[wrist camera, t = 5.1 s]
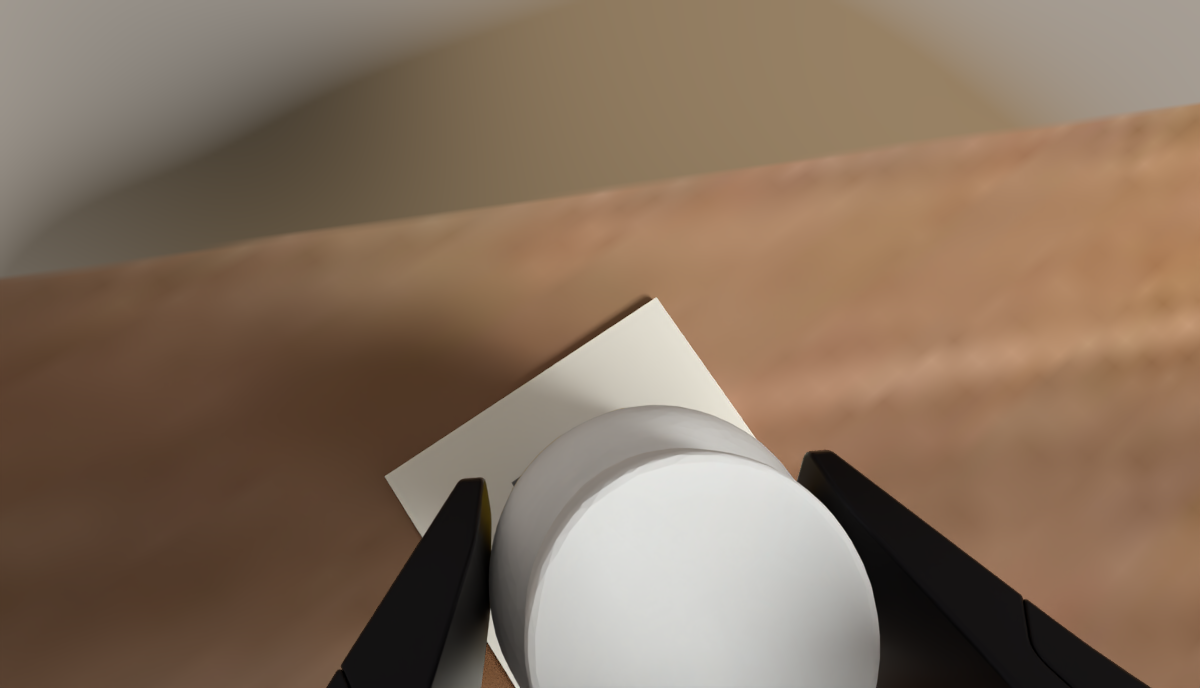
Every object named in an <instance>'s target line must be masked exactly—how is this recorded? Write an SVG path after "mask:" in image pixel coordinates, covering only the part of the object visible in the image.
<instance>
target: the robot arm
mask: <svg viewBox="0 0 1200 688" xmlns="http://www.w3.org/2000/svg"><path fill="white" fill-rule="evenodd" d="M797 482H798V483H799V484H801V485H802V486H803V487H804V488H806V489H807V490H808V491H810V492H811V493H812V494H813V495H814V496H815V497H816V498H817V499H818V500H819V501H821V502H822V503H823V504H824V505H825V506H826V508H827V509H828V510H829V511H830V512H831V513H832V514H833V516H834V517H835V518H836V519H837V521H838V522H839V523H840V525H841V526H842V528H843V529H844V530H845V532H846V534H847V535H848V537H849V538H850V540H851V541H852V543H853V545H854V547H855V549H856V551H857V553H858V555H859V556H860V558H861V560H862V562H863V565H864V567H865V570H866V573H867V575H868V578H869V581H870V583H871V586H872V591H873V596H874V600H875V605H876V610H877V615H878V624H879V633H880V662H879V670H878V679H877V685H876V688H1151V687H1149V686H1148V685H1146V684H1145V683H1143V682H1142V681H1140V680H1139V679H1137V678H1136V677H1134V676H1133V675H1131V674H1130V673H1128V672H1127V671H1125V670H1124V669H1123V668H1121V667H1120V666H1118V665H1117V664H1115V663H1114V662H1112V661H1111V660H1109V659H1108V658H1107V657H1105V656H1104V655H1102V654H1101V653H1099V652H1098V651H1096V650H1095V649H1093V648H1092V647H1091V646H1089V645H1088V644H1086V643H1085V642H1084V641H1082V640H1081V639H1080V638H1078V637H1077V636H1075V635H1074V634H1073V633H1071V632H1070V631H1069V630H1067V629H1066V628H1065V627H1063V626H1062V625H1061V624H1059V623H1058V622H1056V621H1055V620H1054V619H1052V618H1051V617H1050V616H1048V615H1047V614H1046V613H1044V612H1043V611H1042V610H1040V609H1039V608H1038V607H1037V606H1035V605H1034V604H1033V603H1031V602H1030V601H1029V600H1027V599H1024V600H1023V598H1022V596H1021V594H1019V593H1018V592H1017V591H1015V590H1014V589H1013V588H1011V587H1010V586H1009V585H1007V584H1006V583H1005V582H1003V581H1002V580H1001V579H1000V578H998V577H997V576H996V575H994V574H993V573H992V572H990V571H989V570H988V569H986V568H985V567H984V566H982V565H981V564H980V563H978V562H977V561H976V560H975V559H973V558H972V557H971V556H969V555H968V554H967V553H965V552H964V551H963V550H961V549H960V548H959V547H957V546H956V545H955V544H954V543H952V542H951V541H950V540H948V539H947V538H946V537H944V536H943V535H942V534H940V533H939V532H938V531H936V530H935V529H934V528H933V527H931V526H930V525H929V524H927V523H926V522H925V521H923V520H922V519H921V518H919V517H918V516H917V515H915V514H914V513H913V512H912V511H910V510H909V509H908V508H906V507H905V506H904V505H902V504H901V503H900V502H898V501H897V500H896V499H894V498H893V497H892V496H890V495H889V494H888V493H887V492H885V491H884V490H883V489H881V488H880V487H879V486H877V485H876V484H875V483H873V482H872V481H871V480H869V479H868V478H867V477H866V476H864V475H863V474H862V473H860V472H859V471H858V470H856V469H855V468H854V467H852V466H851V465H850V464H848V463H847V462H846V461H845V460H843V459H842V458H841V457H839V456H838V455H837V454H835V453H834V452H832V451H830V450H818V451H809V452H807V453H806V454H805V455H804V458H803V461H802V465H801V468H800V472H799V476H798V479H797ZM491 534H492V519H491V508H490V502H489V496H488V491H487V485H486V481H485V479H484V478H482V477H477V478H464V479H461V480H459V481H458V483H457V484H456V486H455V487H454V489H453V490H452V492H451V493H450V495H449V496H448V498H447V500H446V501H445V503H444V504H443V506H442V507H441V509H440V511H439V512H438V514H437V515H436V517H435V518H434V520H433V522H432V523H431V525H430V526H429V528H428V529H427V531H426V533H425V534H424V536H423V537H422V539H421V540H420V542H419V543H418V545H417V547H416V548H415V550H414V551H413V553H412V554H411V556H410V558H409V559H408V561H407V562H406V564H405V565H404V567H403V569H402V570H401V572H400V573H399V575H398V576H397V578H396V580H395V581H394V583H393V584H392V586H391V587H390V589H389V590H388V592H387V594H386V595H385V597H384V598H383V600H382V601H381V603H380V605H379V606H378V608H377V609H376V611H375V612H374V614H373V616H372V617H371V619H370V620H369V622H368V623H367V625H366V627H365V628H364V630H363V631H362V633H361V634H360V636H359V637H358V639H357V641H356V642H355V644H354V645H353V647H352V648H351V650H350V652H349V653H348V655H347V656H346V658H345V659H344V661H343V663H342V664H341V668H342V670H343V671H342V670H337V671H336V673H335V675H334V676H333V678H332V679H331V681H330V683H329V684H328V686H327V687H326V688H481V683H482V676H483V668H484V660H485V652H486V644H487V636H488V629H489V619H490V601H489V563H490V556H491Z"/></svg>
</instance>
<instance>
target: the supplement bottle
mask: <svg viewBox="0 0 1200 688" xmlns="http://www.w3.org/2000/svg"><path fill="white" fill-rule="evenodd" d="M489 601H490V609H491V615H492V620H493V625H494V629H495V634H496V637H497V640H498V643H499V646H500V649H501V652H502V654H503V656H504V659H505V661H506V663H507V665H508V667H509V669H510V671H511V673H512V674H513V676H514V678H515V680H516V682H517V684H518V685H519V687H520V688H876V685H877V679H878V670H879V662H880V633H879V624H878V615H877V610H876V605H875V600H874V596H873V591H872V586H871V583H870V581H869V578H868V575H867V573H866V570H865V567H864V565H863V562H862V560H861V558H860V556H859V555H858V553H857V551H856V549H855V547H854V545H853V543H852V541H851V540H850V538H849V537H848V535H847V534H846V532H845V530H844V529H843V528H842V526H841V525H840V523H839V522H838V521H837V519H836V518H835V517H834V516H833V514H832V513H831V512H830V511H829V510H828V509H827V508H826V506H825V505H824V504H823V503H822V502H821V501H819V500H818V499H817V498H816V497H815V496H814V495H813V494H812V493H811V492H810V491H808V490H807V489H806V488H804V487H803V486H802V485H801V484H799V483H798V482H797V481H795V480H794V479H793V477H792V476H791V475H790V473H789V472H788V471H787V469H786V468H785V467H784V466H783V464H782V463H781V462H780V461H779V460H778V459H777V458H776V457H775V456H774V455H773V454H772V453H771V452H770V451H769V450H768V449H767V448H766V447H765V446H764V445H763V444H762V443H761V442H759V441H758V440H757V439H755V438H754V437H753V436H751V435H750V434H748V433H747V432H745V431H744V430H742V429H740V428H738V427H737V426H735V425H733V424H731V423H729V422H727V421H725V420H723V419H720V418H718V417H716V416H713V415H711V414H708V413H704V412H701V411H698V410H693V409H689V408H684V407H680V406H668V405H645V406H635V407H628V408H621V409H617V410H614V411H611V412H608V413H605V414H602V415H600V416H597V417H594V418H592V419H590V420H587V421H585V422H584V423H582V424H580V425H578V426H576V427H574V428H573V429H571V430H569V431H568V432H566V433H564V434H563V435H561V436H559V437H558V438H557V439H555V440H554V441H553V442H552V443H550V444H549V445H548V446H547V447H546V448H545V449H544V450H543V451H542V452H541V453H540V454H538V456H537V457H536V458H535V459H534V460H533V461H532V462H531V463H530V465H529V466H528V467H527V468H526V470H525V471H524V472H523V474H522V475H521V476H520V478H519V479H518V481H517V482H516V484H515V486H514V487H513V489H512V491H511V493H510V495H509V497H508V499H507V502H506V504H505V506H504V508H503V511H502V513H501V516H500V519H499V522H498V525H497V528H496V532H495V535H494V540H493V545H492V550H491V556H490V563H489Z"/></svg>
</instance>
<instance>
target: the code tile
mask: <svg viewBox="0 0 1200 688" xmlns="http://www.w3.org/2000/svg"><path fill="white" fill-rule="evenodd" d="M645 405H668V406H680V407H684V408H689V409H693V410H698V411H701V412H704V413H708V414H711V415H713V416H716V417H718V418H720V419H723V420H725V421H727V422H729V423H731V424H733V425H735V426H737V427H738V428H740V429H742V430H744V431H745V432H747V433H748V434H750V435H751V436H753V437H754V435H753V434H752V432H751V431H750V430H749V428H748V427H747V425H746V424H745V422H744V421H743V420H742V418H741V417H740V415H739V414H738V412H737V411H736V410H735V408H734V407H733V405H732V404H731V403H730V401H729V400H728V398H727V397H726V395H725V394H724V393H723V391H722V390H721V388H720V387H719V385H718V384H717V383H716V381H715V380H714V378H713V377H712V376H711V374H710V373H709V371H708V370H707V368H706V367H705V366H704V364H703V363H702V361H701V360H700V359H699V357H698V356H697V354H696V353H695V351H694V350H693V349H692V347H691V346H690V344H689V343H688V341H687V340H686V339H685V337H684V336H683V334H682V333H681V332H680V330H679V329H678V327H677V326H676V324H675V323H674V322H673V320H672V319H671V317H670V316H669V314H668V313H667V312H666V310H665V309H664V307H663V306H662V305H661V303H660V302H659V300H658V299H657V297H656V298H654V299H653V300H651V301H650V302H648V303H647V304H645V305H644V306H642V307H641V308H639V309H638V310H636V311H635V312H633V313H632V314H630V315H629V316H627V317H626V318H624V319H623V320H621V321H620V322H618V323H616V324H615V325H613V326H612V327H610V328H609V329H607V330H606V331H604V332H603V333H601V334H600V335H598V336H597V337H595V338H594V339H592V340H591V341H589V342H588V343H586V344H585V345H583V346H582V347H580V348H579V349H577V350H576V351H574V352H572V353H571V354H569V355H568V356H566V357H565V358H563V359H562V360H560V361H559V362H557V363H556V364H554V365H553V366H551V367H550V368H548V369H547V370H545V371H544V372H542V373H541V374H539V375H538V376H536V377H535V378H533V379H532V380H530V381H528V382H527V383H525V384H524V385H522V386H521V387H519V388H518V389H516V390H515V391H513V392H512V393H510V394H509V395H507V396H506V397H504V398H503V399H501V400H500V401H498V402H497V403H495V404H494V405H492V406H491V407H489V408H488V409H486V410H484V411H483V412H481V413H480V414H478V415H477V416H475V417H474V418H472V419H471V420H469V421H468V422H466V423H465V424H463V425H462V426H460V427H459V428H457V429H456V430H454V431H453V432H451V433H450V434H448V435H447V436H445V437H444V438H442V439H440V440H439V441H437V442H436V443H434V444H433V445H431V446H430V447H428V448H427V449H425V450H424V451H422V452H421V453H419V454H418V455H416V456H415V457H413V458H412V459H410V460H409V461H407V462H406V463H404V464H403V465H401V466H399V467H398V468H396V469H395V470H393V471H392V472H390V473H389V474H387V475H386V476H384V477H385V478H386V480H387V481H388V483H389V485H390V486H391V488H392V489H393V491H394V493H395V494H396V496H397V498H398V499H399V501H400V502H401V504H402V506H403V507H404V509H405V510H406V512H407V514H408V515H409V517H410V518H411V520H412V522H413V523H414V525H415V526H416V528H417V530H418V531H419V533H420V535H421V536H422V537H423V536H424V534H425V533H426V531H427V529H428V528H429V526H430V525H431V523H432V522H433V520H434V518H435V517H436V515H437V514H438V512H439V511H440V509H441V507H442V506H443V504H444V503H445V501H446V500H447V498H448V496H449V495H450V493H451V492H452V490H453V489H454V487H455V486H456V484H457V483H458V481H459V480H461V479H464V478H477V477H482V478H484V479H485V481H486V485H487V491H488V496H489V502H490V508H491V519H492V534H491V550H492V545H493V540H494V535H495V532H496V528H497V525H498V522H499V519H500V516H501V513H502V511H503V508H504V506H505V504H506V502H507V499H508V497H509V495H510V493H511V491H512V489H513V487H514V486H515V484H516V482H517V481H518V479H519V478H520V476H521V475H522V474H523V472H524V471H525V470H526V468H527V467H528V466H529V465H530V463H531V462H532V461H533V460H534V459H535V458H536V457H537V456H538V454H540V453H541V452H542V451H543V450H544V449H545V448H546V447H547V446H548V445H549V444H550V443H552V442H553V441H554V440H555V439H557V438H558V437H559V436H561V435H563V434H564V433H566V432H568V431H569V430H571V429H573V428H574V427H576V426H578V425H580V424H582V423H584V422H585V421H587V420H590V419H592V418H594V417H597V416H600V415H602V414H605V413H608V412H611V411H614V410H617V409H621V408H628V407H635V406H645ZM754 438H755V437H754ZM755 439H756V438H755ZM487 642H488V644H489V646H490V647H491V649H492V650H493V652H494V654H495V655H496V657H497V658H498V660H499V662H500V663H501V665H502V666H503V668H504V670H505V671H506V673H507V674H508V676H509V678H510V679H511V681H512V683H513V684H514V686H515V687H516V688H520V687H519V685H518V684H517V682H516V680H515V678H514V676H513V674H512V673H511V671H510V669H509V667H508V665H507V663H506V661H505V659H504V656H503V654H502V652H501V649H500V646H499V643H498V640H497V637H496V634H495V629H494V625H493V620H492V615H491V609H490V619H489V629H488V636H487Z"/></svg>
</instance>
